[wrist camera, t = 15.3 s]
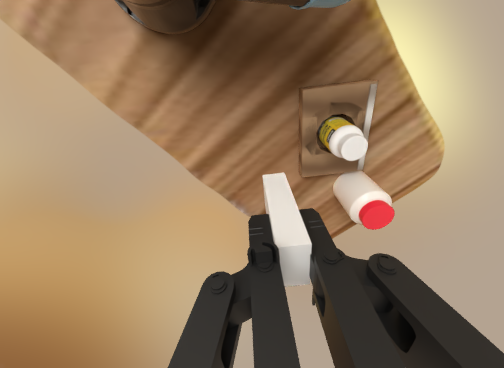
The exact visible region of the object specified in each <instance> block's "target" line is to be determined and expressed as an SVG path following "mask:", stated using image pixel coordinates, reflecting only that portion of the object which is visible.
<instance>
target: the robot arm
mask: <svg viewBox="0 0 504 368" xmlns="http://www.w3.org/2000/svg"><path fill="white" fill-rule="evenodd" d="M115 1H116V2H117V4H118V5H119V6H120V7H121V8H122V9H123V10H124V11H125V12H126V13H127V14H128V15H129V16H130V17H132V18H133V19H134V20H135V21H137V22H138V23H140V24H141V25H143V26H145V27H147V28H149V29H152V30H155V31H158V32H161V33H165V34H181V33H185V32H188V31H190V30H192V29H194V28H196V27H197V26H198V25H200V24H201V23H202V22H203V21H204V20H205V19H206V17H207V16H208V15H209V13H210V12H211V10H212V8H213V6H214V4H215V1H216V0H115ZM239 1H250V2H260V3H271V4H282V5H289V7H291V8H293V9H297V10H301V9H306V8H309V7H319V8H333V7H336V6H340V5H343V4H345V3H347V2H349V1H350V0H239ZM262 176H263V186H264V197H265V207H266V213H267V214H263V215H254V216H251V218H250V220H249V222H248V223H249V242H250V247H249V249H248V254H247V255H248V260H249V263H248V264H247V266H246V267H245V268H244V269H243V270H241V271H239V272H237V273H235V274H232V275H230V274H229V273H226V272H216V273H214V274H211V275H210V276H209V277H208V278H206V280H205V282H204V283H203V285H202V287H201V290H200V292H199V295H198V297H197V299H196V302H195V304H194V307H193V309H192V311H191V314H190V316H189V318H188V321H187V323H186V325H185V328H184V330H183V333H182V335H181V337H180V340H179V342H178V344H177V347H176V349H175V352H174V354H173V356H172V359H171V361H170V364H169V366H168V368H233V364H234V359H235V354H236V350H237V345H238V340H239V336H240V331H241V326H242V323H243V322H245V321H247V320H249V319H250V318H252V330H253V350H254V368H300V364H299V358H298V353H297V349H296V343H295V338H294V332H293V327H292V322H291V317H290V312H289V307H288V302H287V297H286V292H285V287H290V286H299V285H308V284H310V279H311V282H312V285H313V295H312V304H313V305H315V304H316V307H317V310H318V313H319V316H320V320H321V323H322V327H323V330H324V333H325V336H326V340H327V343H328V346H329V349H330V353H331V356H332V359H333V363H334V366H335V368H504V353H503V352H502V351H500V350H499V349H498V348H497V347H496V346H495V345H494V344H492V343H491V342H490V341H489V340H488V339H487V338H486V337H485V336H483V335H482V334H481V333H480V332H479V331H478V330H477V329H476V328H475V327H473V326H472V325H471V324H470V323H469V322H468V321H467V320H466V319H464V318H463V317H462V316H461V315H460V314H459V313H457V311H455V310H454V309H453V308H452V307H451V306H450V305H449V304H448V303H446V302H445V301H444V300H443V299H442V298H441V297H440V296H439V295H437V294H436V293H435V292H434V291H433V290H432V289H431V288H430V287H428V286H427V285H426V284H425V283H424V282H423V281H421V279H419V278H418V277H417V276H416V275H415V274H414V273H413V272H411V271H410V270H409V269H408V268H407V267H406V266H405V265H404V264H402V263H401V262H400V261H399V260H397V259H396V258H394V257H392V256H390V255H387V254H381V253H379V254H374V255H372V256H370V258H369V260H363V259H356V258H351V257H349V256H346V255H345V254H344V253H343V252H342V251H341V250H339V249H337V248H336V246H335V244H334V242H333V240H332V238H331V236H330V234H329V232H328V230H327V228H326V226H325V225H324V223H323V221H322V219H321V217H320V215H319V213H318V212H316V211H315V210H314V209H313V208H310V209H301V210H298V207H297V204H296V202H295V199H294V197H293V194H292V191H291V189H290V186H289V184H288V181H287V178H286V176H285V173H276V174H267V175H262Z"/></svg>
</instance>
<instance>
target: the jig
mask: <svg viewBox="0 0 504 368" xmlns="http://www.w3.org/2000/svg"><path fill="white" fill-rule="evenodd" d="M377 85H378V81H376V80H362V81H354V82H346V83H337V84H329V85H321V86H313V87H305V88H299V173H300V175H301V177H310V176H319V175H328V174H336V173H345V172H354V171H362V170H363V166H364V160H365V154H366V153H365V154H364V155H363V156H362V157H361V158H359V159H357V160H355V161H348V160H346V159H344V158H340V157H337V156H335V155H334V154H333V153H332V152H331V151H330V150H329V149H328V148H322V147H320V146H318V144H317V142H316V132H317V130H318V128H319V126H320V125H321V123H322V122H323V121H324V120H325V119H327V118H328V117H330V116H331V115H336V114H345V115H346V116H347V118H348V120H349V122H350V123H351V124H353V125H355V126H356V127H358V128H359V129H360V130H361V131H362V133H363V136H364V138H365V139H366V140H367V143H368V137H369V131H370V125H371V120H372V114H373V108H374V102H375V96H376V91H377Z"/></svg>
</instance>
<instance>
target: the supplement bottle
mask: <svg viewBox="0 0 504 368" xmlns="http://www.w3.org/2000/svg"><path fill="white" fill-rule="evenodd" d="M318 137H319V139H320V141H321V142H322V143H323V144H324V145H325V146H326V147H327V148H328V149H329V150H330V151H331V152H332V153H333V154H334V155H335V156H337V157H340V158H344V159H346V160H348V161H355V160H357V159H359V158H361V157H362V156H363V155H364V154H365V153H366V151H367V148H368V143H367V140H366V139H365V138H364V136H363V133H362V131H361V130H360V129H359V128H358V127H356V126H355V125H353V124H351V123H350V122H348V121H346V120H345V119H343V118H341V117H339V116H331V117H328V118H327V119H325V120H324V121H323V122H322V123H321V125H320V126H319V128H318Z"/></svg>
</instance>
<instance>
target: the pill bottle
mask: <svg viewBox="0 0 504 368" xmlns="http://www.w3.org/2000/svg"><path fill="white" fill-rule="evenodd" d="M333 193H334V195H335V196H336V198H337V199H338V201H339V202H340V204H341V205H342V206H343V208H344V209H345V211H346V212H347V214H348V215H349V217H350V218H351V219H352V220H353V221H354V222H355V223H357V224H362V225H364V226H365V227H366V228H368V229H372V230H374V229H380V228H382V227H384V226H386V225H387V224H389V223H390V222H391V221H392V219H393V217H394V210H393V208H392V207H391V206H392V200H391V197H390V196H389V195H388V194H387V193H386V192H385V191H384V190H383V189H382V188H381V187H380V186H379V185H377V184H376V183H375V182H374V181H373V180H372V179H371V178H370V177H369V176H368V175H367V174H365V173H364V172H362V171H354V172H345V173H343V174H342V175H340V176H339V177H338V178H337V179H336V181H335V183H334V185H333Z"/></svg>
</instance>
